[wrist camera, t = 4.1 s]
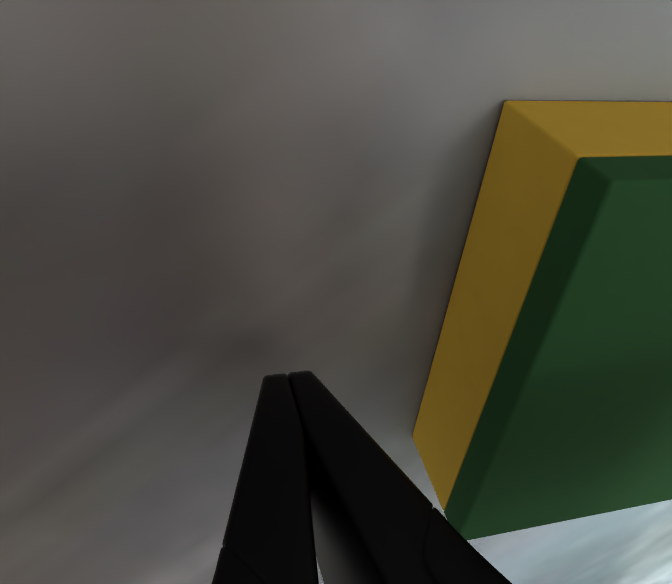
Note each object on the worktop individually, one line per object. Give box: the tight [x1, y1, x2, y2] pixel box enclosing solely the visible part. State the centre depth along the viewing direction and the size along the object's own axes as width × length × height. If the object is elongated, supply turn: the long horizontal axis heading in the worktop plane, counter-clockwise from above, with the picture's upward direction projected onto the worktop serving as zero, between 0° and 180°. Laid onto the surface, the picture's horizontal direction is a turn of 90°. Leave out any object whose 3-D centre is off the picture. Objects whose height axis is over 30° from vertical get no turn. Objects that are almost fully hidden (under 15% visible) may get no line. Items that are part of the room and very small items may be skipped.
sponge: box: [412, 101, 672, 540], centre depth 12 cm, size 9×6×3 cm, turn 175°
